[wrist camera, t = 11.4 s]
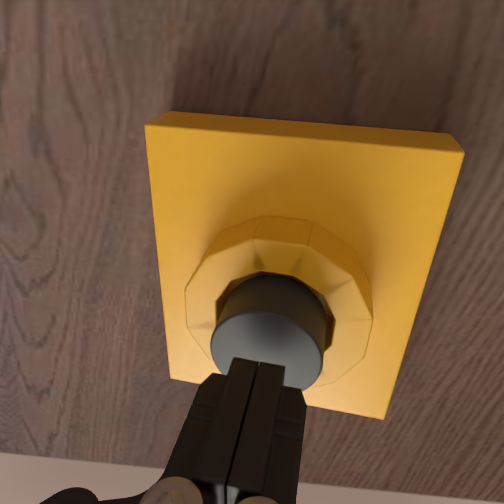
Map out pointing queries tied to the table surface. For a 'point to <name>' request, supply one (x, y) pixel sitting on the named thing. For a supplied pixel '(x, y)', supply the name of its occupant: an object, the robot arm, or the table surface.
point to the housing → (300, 235)
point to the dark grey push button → (272, 328)
